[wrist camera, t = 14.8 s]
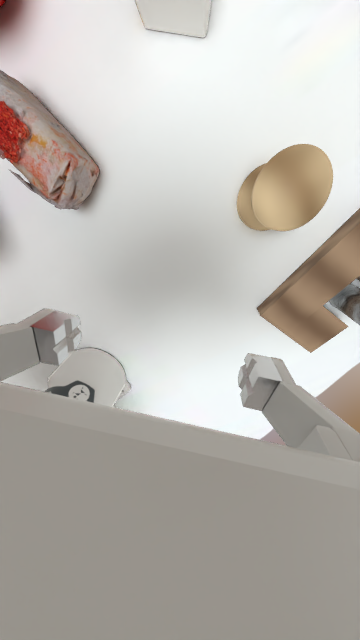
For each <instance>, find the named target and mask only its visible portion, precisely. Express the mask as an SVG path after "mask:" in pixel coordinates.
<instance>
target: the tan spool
mask: <svg viewBox="0 0 360 640" xmlns="http://www.w3.org/2000/svg"><path fill="white" fill-rule="evenodd" d="M332 183H333V170H332V165H331V162H330V160H329V158H328V156H327V155H326V154H325V153H324V152H323V151H322V150H321V149H320V148H318V147H316V146H313V145H309V144H298V145H293V146H290V147H288V148H286V149H284V150H282V151H280V152H279V153H277V154H276V155H275V156H274V157H273V158H272V159H271V160H270V161H269V162H268V163H266V164H263V165H261V166H259V167H258V168H256V169H255V170H254V171H252V172H251V173H250V175H249V176H248V177H247V178H246V179H245V181H244V182H243V184H242V186H241V188H240V190H239V193H238V198H237V210H238V214H239V216H240V218H241V220H242V221H243V223H244V224H245V225H247V226H248V227H250V228H252V229H255V230H260V231H265V230H270V229H272V230H276V231H289V230H293V229H296V228H299V227H301V226H303V225H304V224H306V223H308V222H309V221H310V220H311V219H313V218H314V217H315V216H316V215H317V214H318V213H319V211H320V210H321V209H322V207H323V206H324V204H325V203H326V201H327V199H328V197H329V194H330V191H331V188H332Z"/></svg>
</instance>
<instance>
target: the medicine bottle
mask: <svg viewBox="0 0 360 640" xmlns="http://www.w3.org/2000/svg"><path fill="white" fill-rule="evenodd" d="M135 2H136V5H137V8H138V11H139V13H140V16H141V19H142V22H143V24H144V27H145V28H146V29H150V30H157V31H163V32H170V33H176V34H183V35H189V36H196V37H202V38H204V37H205V36H206V34H207V28H208V22H209V15H210V8H211V2H212V0H135Z"/></svg>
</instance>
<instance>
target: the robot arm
mask: <svg viewBox="0 0 360 640" xmlns="http://www.w3.org/2000/svg"><path fill="white" fill-rule="evenodd" d="M79 325H80V318H79V317H78V316H77V315H73V314H69V313H64V312H60V311H56V310H51V309H42V310H41V311H39V312H37V313H35V314H33V315H32V316H30V317H28V318H26V319H24V320H23V321H21V322H19V323H17V324H14V323H11V324H6V325H1V326H0V381H2V380H4V379H6V378H9V377H11V376H13V375H15V374H17V373H19V372H22V371H24V370H26V369H28V368H30V367H32V366H35V365H37V364H39V363H40V362H42V363H47V364H53V365H58V366H59V365H60V366H59V367H58V368H57V369H56V370H55V371H54V372H53V373H52V374H51V375H50V376H49V378H48V389H47V390H46V391H45V392H43V391H39V390H34V389H30V388H25V387H21V386H16V385H12V384H7V383H3V382H0V640H360V434H359V433H358V432H357V431H356V430H354V429H353V428H352V427H351V426H349V425H348V424H347V423H345V422H344V421H343V420H342V419H341V418H339V417H338V416H337V415H336V414H334V413H333V412H332V411H331V410H329V409H328V408H327V407H325V406H324V405H323V404H322V403H320V402H319V401H318V400H317V399H316V398H314V397H313V396H312V395H311V394H309V393H308V392H307V391H306V390H304V389H303V388H302V387H301V386H298V385H296V384H295V382H294V380H293V378H292V377H291V375H290V373H289V371H288V369H287V367H286V366H285V364H284V362H283V361H282V360H281V359H277V358H272V357H266V356H261V355H256V354H251V353H248V354H247V355H246V357H245V359H244V361H245V365H243V366H242V367H241V368H240V371H239V375H238V385H239V387H240V388H241V389H242V392H241V394H240V395H241V399H242V404H243V407H247V408H251V409H255V410H259V411H262V413H263V414H264V416H265V417H266V418H267V420H268V421H269V422H270V424H271V425H272V426H273V428H274V429H275V430H276V432H277V433H278V434H279V436H280V437H281V438H282V439H283V441H284V442H285V444H286V445H287V446H285V445H280V444H276V443H272V442H267V441H262V440H258V439H253V438H249V437H244V436H240V435H235V434H231V433H227V432H222V431H218V430H213V429H209V428H204V427H200V426H195V425H191V424H186V423H182V422H178V421H173V420H169V419H164V418H160V417H155V416H151V415H146V414H142V413H137V412H133V411H128V410H124V409H119V408H115V407H113V406H114V404H115V402H116V400H118V399H119V398H121V397H122V396H123V395H125V394H126V393H128V392H129V391H130V389H131V386H130V384H129V383H128V382H127V380H126V376H125V372H124V369H123V367H122V366H121V364H120V363H119V362H118V361H117V360H116V359H115V358H114V357H113V356H111V355H110V354H108V353H106V352H104V351H102V350H99V349H94V348H83V349H79V350H75V349H76V348H77V347H78V345H79V343H80V341H81V331H80V330H79V328H78V326H79Z"/></svg>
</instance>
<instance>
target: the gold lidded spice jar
mask: <svg viewBox="0 0 360 640" xmlns="http://www.w3.org/2000/svg"><path fill="white" fill-rule="evenodd" d="M329 302H330V303H331V304H332V305H333V306H335V307H336V308H337V309H339V310H340V311H342V312H343V313H344V314H346V315H347V316H348V317H350V318H351V319H352V320H354V321H355V322H356V323H358V324H359V325H360V288H358V287H356V286H354V285H352V284H349V285H348V286H346V287H345V288H344V289H343V290H341V291H340V292H339V293H338V294H336V295H335V296H334V297H333V298H331V299H330V300H329Z"/></svg>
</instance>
